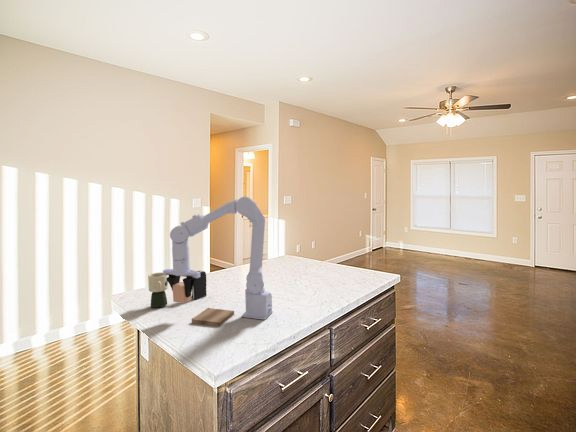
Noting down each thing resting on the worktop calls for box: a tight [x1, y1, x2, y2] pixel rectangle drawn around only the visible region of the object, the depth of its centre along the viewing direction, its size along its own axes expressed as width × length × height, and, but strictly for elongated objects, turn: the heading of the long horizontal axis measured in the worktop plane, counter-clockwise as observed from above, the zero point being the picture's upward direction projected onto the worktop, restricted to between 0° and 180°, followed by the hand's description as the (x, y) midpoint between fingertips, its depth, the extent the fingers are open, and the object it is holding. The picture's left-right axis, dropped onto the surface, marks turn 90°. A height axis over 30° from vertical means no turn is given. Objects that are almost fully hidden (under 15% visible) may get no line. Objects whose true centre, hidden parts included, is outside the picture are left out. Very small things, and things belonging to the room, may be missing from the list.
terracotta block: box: [172, 281, 192, 304], centre depth 118 cm, size 4×4×6 cm
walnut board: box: [191, 307, 235, 328], centre depth 119 cm, size 11×11×2 cm
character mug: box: [147, 272, 169, 308], centre depth 131 cm, size 11×7×13 cm, turn 28°
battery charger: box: [191, 270, 208, 300], centre depth 142 cm, size 7×4×11 cm, turn 145°
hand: (182, 295), depth 118 cm, fingers closed on terracotta block, 4 cm apart
